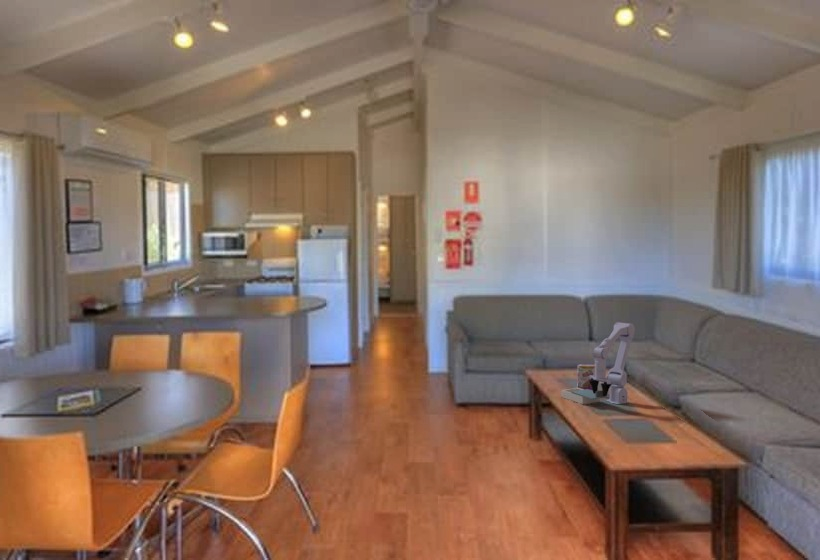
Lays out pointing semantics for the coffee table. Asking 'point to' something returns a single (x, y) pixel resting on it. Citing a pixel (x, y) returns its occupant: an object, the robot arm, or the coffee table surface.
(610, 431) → the coffee table surface
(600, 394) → the carton lid
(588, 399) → the carton
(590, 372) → the candy bar box
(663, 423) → the coffee table surface
